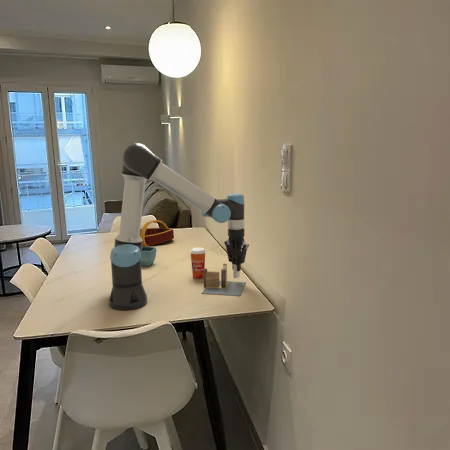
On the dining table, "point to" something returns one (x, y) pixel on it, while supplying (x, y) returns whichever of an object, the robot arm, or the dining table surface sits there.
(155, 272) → the dining table surface
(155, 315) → the dining table surface
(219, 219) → the robot arm
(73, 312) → the dining table surface
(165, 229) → the decorative basket
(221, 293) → the board
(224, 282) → the fixed fence panel and posts
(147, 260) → the flower pot
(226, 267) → the hinged fence panel
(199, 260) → the paper cup
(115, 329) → the dining table surface
